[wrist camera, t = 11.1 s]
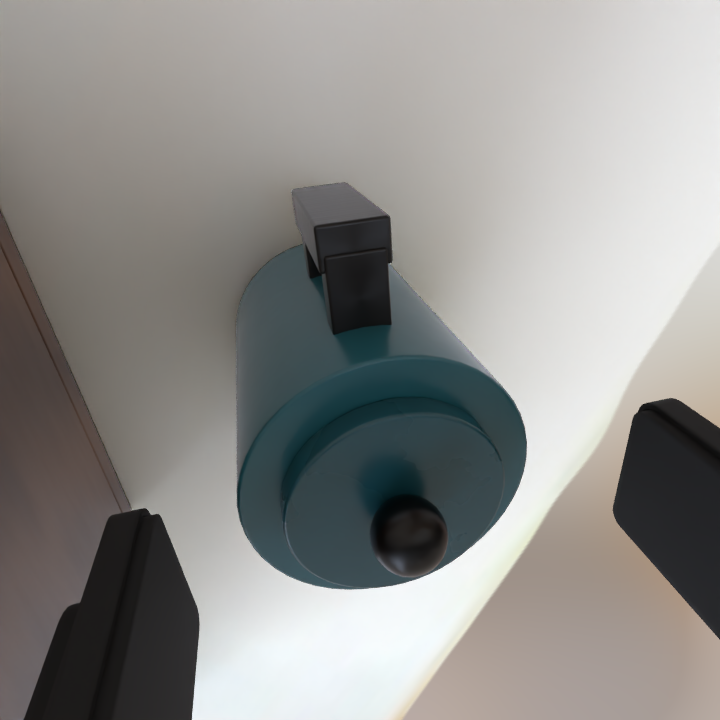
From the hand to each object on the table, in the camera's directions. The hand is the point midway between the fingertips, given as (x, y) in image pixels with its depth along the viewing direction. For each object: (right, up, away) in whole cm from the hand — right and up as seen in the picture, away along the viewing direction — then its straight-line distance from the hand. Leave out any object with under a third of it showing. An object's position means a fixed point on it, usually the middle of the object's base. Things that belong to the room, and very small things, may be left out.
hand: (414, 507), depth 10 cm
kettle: (-2, +4, +7) cm, 9 cm away
